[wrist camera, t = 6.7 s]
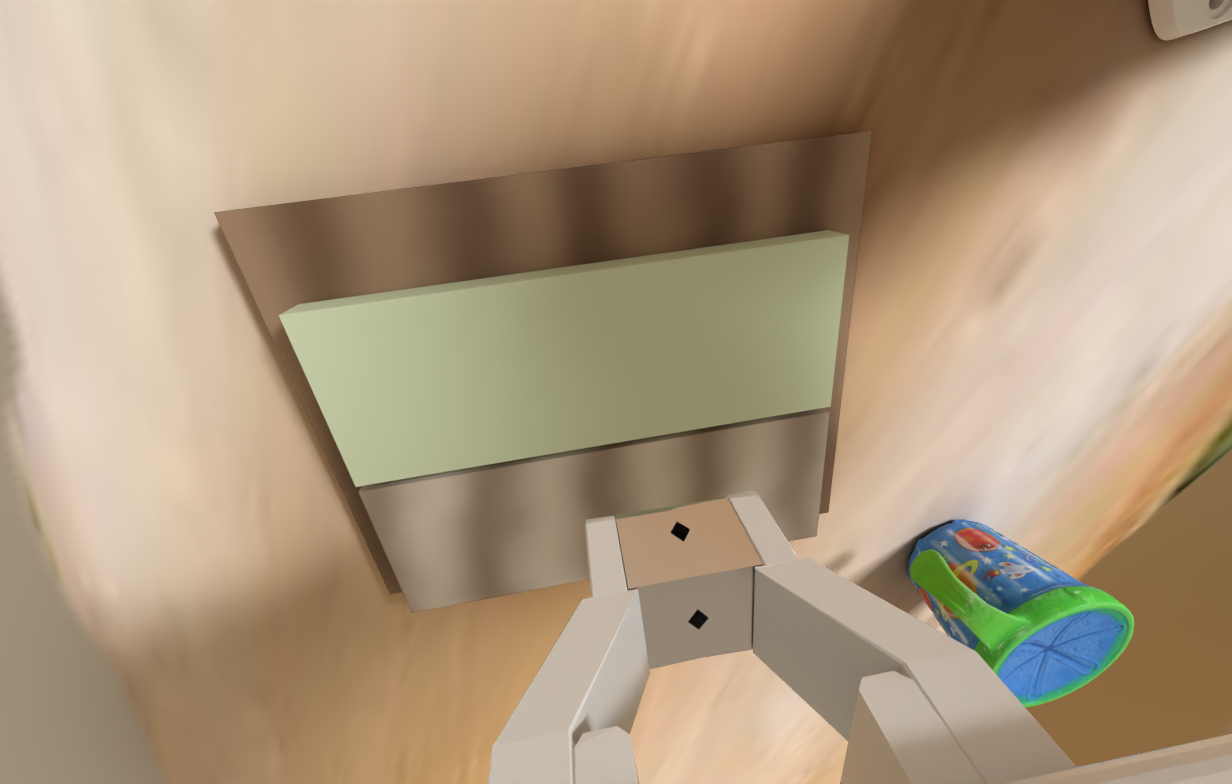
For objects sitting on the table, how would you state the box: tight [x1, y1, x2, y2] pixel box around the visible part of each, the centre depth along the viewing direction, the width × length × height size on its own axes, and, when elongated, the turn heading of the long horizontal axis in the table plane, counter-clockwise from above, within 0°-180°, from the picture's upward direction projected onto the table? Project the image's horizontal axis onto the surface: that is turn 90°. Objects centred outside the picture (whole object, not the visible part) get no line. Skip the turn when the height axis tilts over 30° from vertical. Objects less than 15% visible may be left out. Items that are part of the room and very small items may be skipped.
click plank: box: [279, 230, 849, 487], centre depth 26 cm, size 28×10×2 cm, turn 97°
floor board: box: [214, 131, 872, 613], centre depth 28 cm, size 32×25×3 cm
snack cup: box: [907, 520, 1134, 707], centre depth 36 cm, size 16×10×10 cm
